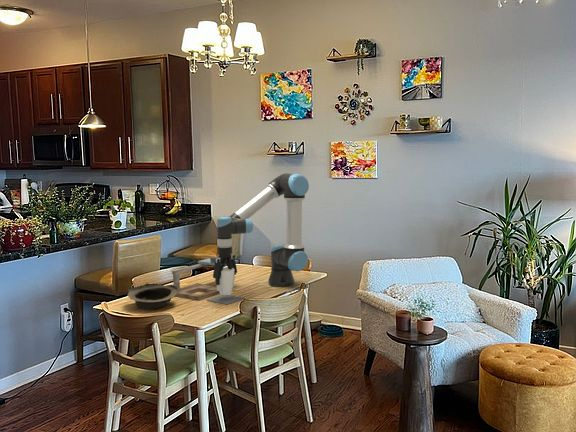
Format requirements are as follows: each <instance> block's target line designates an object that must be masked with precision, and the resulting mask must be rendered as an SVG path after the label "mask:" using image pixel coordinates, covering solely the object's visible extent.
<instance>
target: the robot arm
mask: <svg viewBox="0 0 576 432" xmlns="http://www.w3.org/2000/svg"><path fill="white" fill-rule="evenodd" d="M309 185H310V184H309V180H308V179H307V177H306V176H304V175H303V174H299V173H283V174H282V173H281V174H280V175H277V177H275V178H274V179H272V180H271V181H270V182H269V183H267V184H266V187H265V188H264V189H263V190H261V191H260V192H259V193H258V194H256V195H255V196H253V197H252V198H251V199H250V200H249V201H246V203H245V204H244V205H242V206H241V207H239V208H238V209H237V210H236V211H235V212H233V213H232V214H231V215H230V216H218V217H217V219H216V237H217V239H216V240H217V255H218V259H215V265H214V267H213V273H212V278H213V279H215V278H216V282H215V283H216V287H217V291H222V279H221V278H220V277H221V271H223V267H228V269H232V268H234V277H233V287H232V288H235V275H237V273H238V269H237V263H236V262H235V260H236V255H235V254H233V247H232V246H233V238H232V237H233V235H243V234H250V233H252V232H253V231H254V223H253V221H252V219H251V217H252V216H254V215H255V214H256V213H258V211H260V210H262V209H263V208H264V207H265V206H267V204H269V203H271V201H273V200H274V199H278V198H279V197H280V196H283V199H284V200H285V201H286V229H285V230H286V243H285V244H278V245H277V244H276V245H273V246H271V248H270V260H271V261H270V263H271V267H270V269H271V272H270V275H269V278H268V285H269V286H272V287H277V288H278V287H281V288H282V287H291V286H294V285H295V278H294V275H293V272H301V271H302V270H304V269H305V268H306V267H307V265H308V263H309V257H308V254H307V253H306V252H305V246H304V245H303V243H302V239H303V238H302V237H303V233H302V232H303V230H302V227H303V226H302V225H303V222H302V221H303V201H304V200H305V199H306V198H305V197H306V194H307V193H308V191H309V187H310V186H309ZM225 265H227V266H225ZM215 275H216V276H215Z"/></svg>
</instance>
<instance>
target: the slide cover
mask: <svg viewBox="0 0 576 432" xmlns="http://www.w3.org/2000/svg"><path fill="white" fill-rule="evenodd" d="M218 258H219V256H218V257H217V256H216V257H215V256H211V257H209V258H205V259H201V260H198V261H197V264H206V265H208V266H212V267H213V266H214V265H215V259H218ZM235 262H236V264H238V263H239V259H235ZM239 264H240V263H239ZM224 267H227V265H225V266H224Z"/></svg>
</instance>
